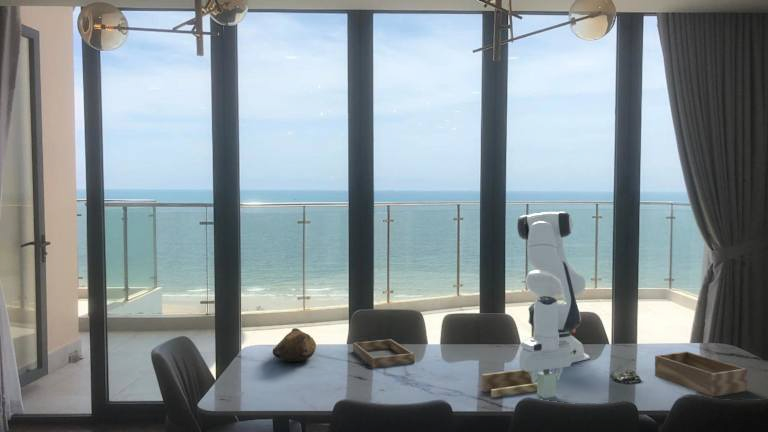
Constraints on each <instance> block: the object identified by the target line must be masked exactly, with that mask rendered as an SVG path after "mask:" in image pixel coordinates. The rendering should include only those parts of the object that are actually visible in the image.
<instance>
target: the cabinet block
mask: <svg viewBox="0 0 768 432" xmlns="http://www.w3.org/2000/svg"><path fill="white" fill-rule="evenodd" d="M536 375H537V376H536V377H537V378H538V382H537V391H536V394H537V396H538V397H541V398H543V399H546V398H553V397H556V395H557V394H556V393H557V391H556V388H557V386H556V385H557V383H556V382H557V380H556V374H555V373H554V372H551V371H550V369H546V370H542V371H539V372H537V373H536Z"/></svg>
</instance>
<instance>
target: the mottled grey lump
mask: <svg viewBox="0 0 768 432" xmlns="http://www.w3.org/2000/svg"><path fill="white" fill-rule="evenodd" d="M609 376H610V380H611V381H613V382H614V383H618V384H623V385H635V384H640V383H641V375H639V374H638V373H636V371H635V370H634V369H632V370H630V369H626V370H624V371H623V372H622V371H616V372H612V373H610V375H609Z"/></svg>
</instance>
